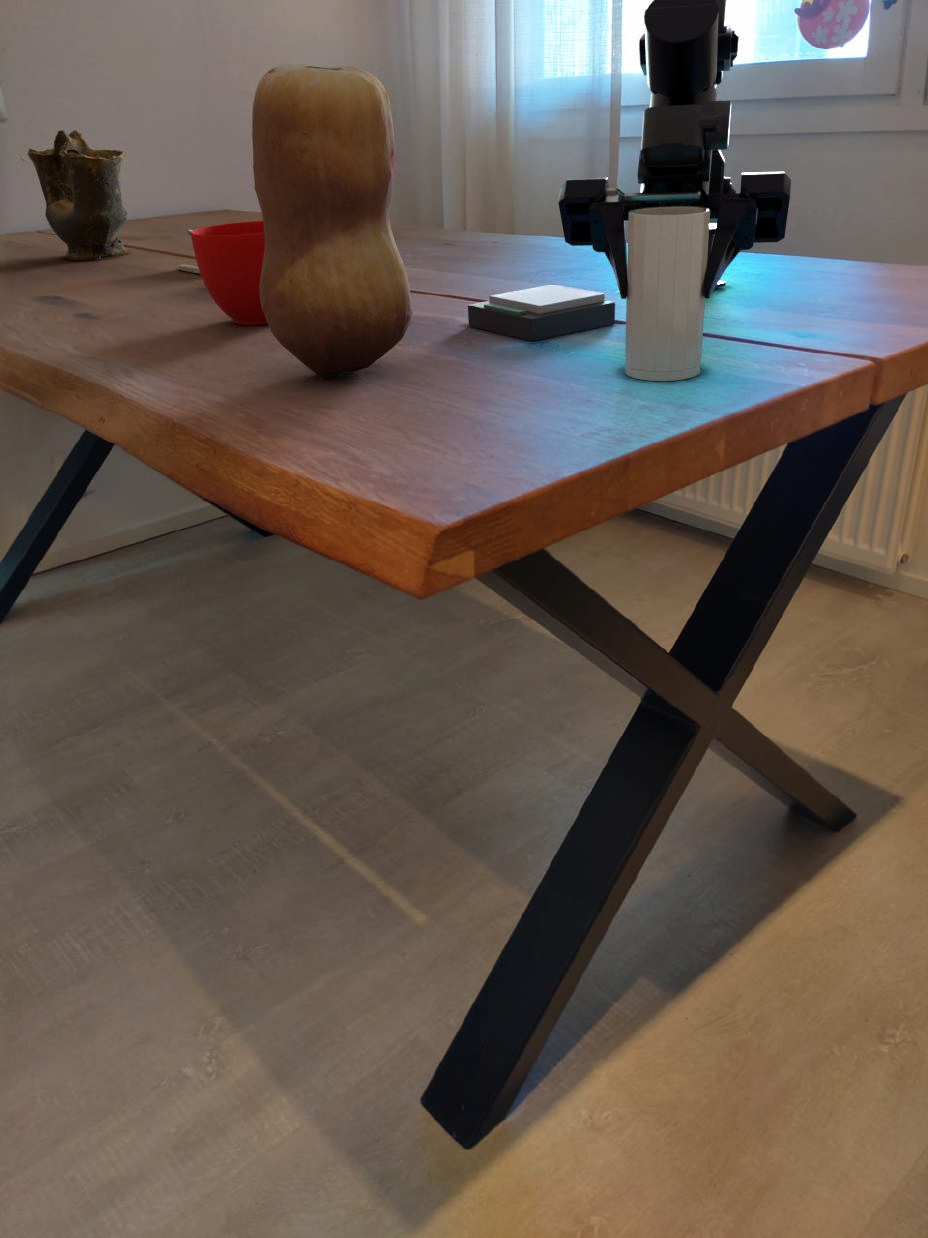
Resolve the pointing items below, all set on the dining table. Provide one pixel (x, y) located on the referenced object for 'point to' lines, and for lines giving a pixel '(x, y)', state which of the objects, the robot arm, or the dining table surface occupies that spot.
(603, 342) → the dining table surface
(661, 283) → the tumbler
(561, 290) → the scale
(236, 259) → the ceramic cup
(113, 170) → the pottery vessel
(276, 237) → the butternut squash
